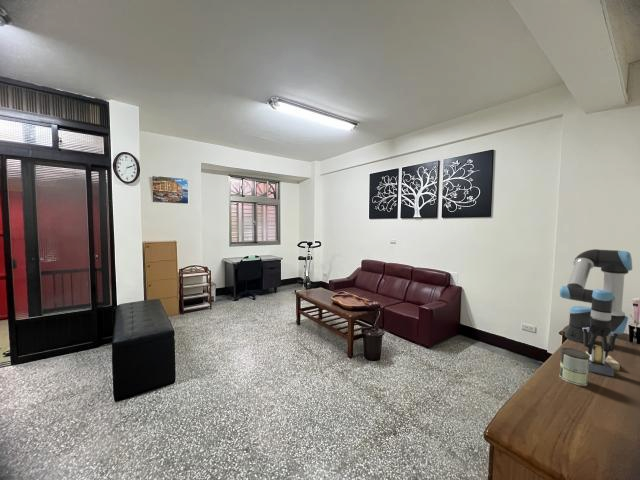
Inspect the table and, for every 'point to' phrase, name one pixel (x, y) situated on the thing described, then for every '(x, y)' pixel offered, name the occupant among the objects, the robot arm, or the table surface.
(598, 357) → the peg
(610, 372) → the socket
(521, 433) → the table surface
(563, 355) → the coffee can
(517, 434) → the table surface
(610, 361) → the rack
